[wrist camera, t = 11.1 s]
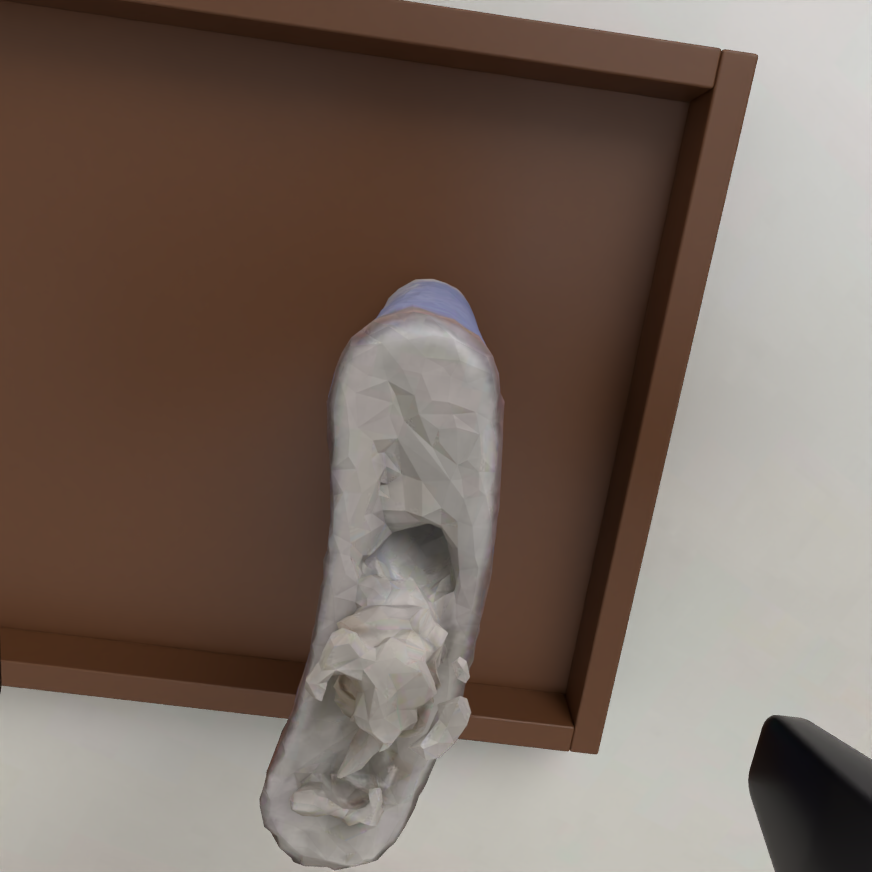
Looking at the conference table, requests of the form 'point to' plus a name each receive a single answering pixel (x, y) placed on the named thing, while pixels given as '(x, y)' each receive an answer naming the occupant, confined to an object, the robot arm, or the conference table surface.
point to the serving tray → (333, 324)
